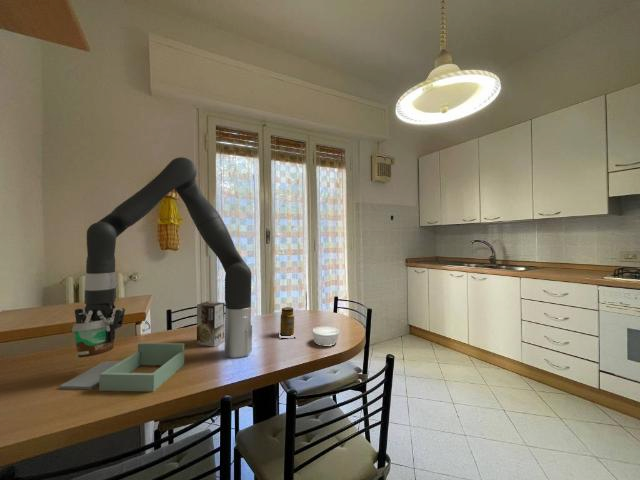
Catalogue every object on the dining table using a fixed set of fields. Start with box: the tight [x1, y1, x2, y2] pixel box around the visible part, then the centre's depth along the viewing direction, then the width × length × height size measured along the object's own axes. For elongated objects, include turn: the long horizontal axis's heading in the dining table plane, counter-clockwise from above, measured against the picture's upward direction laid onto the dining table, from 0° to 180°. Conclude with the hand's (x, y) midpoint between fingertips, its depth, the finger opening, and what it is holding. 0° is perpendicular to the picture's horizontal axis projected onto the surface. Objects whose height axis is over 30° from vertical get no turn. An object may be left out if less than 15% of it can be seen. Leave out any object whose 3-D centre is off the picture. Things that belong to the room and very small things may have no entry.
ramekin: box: [312, 326, 340, 345], centre depth 115 cm, size 11×11×5 cm
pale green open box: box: [98, 342, 185, 392], centre depth 85 cm, size 15×17×7 cm
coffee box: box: [196, 301, 225, 348], centre depth 114 cm, size 9×6×16 cm
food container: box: [71, 315, 115, 358], centre depth 85 cm, size 12×6×10 cm, turn 170°
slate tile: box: [58, 360, 120, 391], centre depth 85 cm, size 9×16×1 cm, turn 0°
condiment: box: [278, 306, 295, 340], centre depth 123 cm, size 7×8×12 cm
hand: (99, 342), depth 85 cm, fingers closed on food container, 5 cm apart
